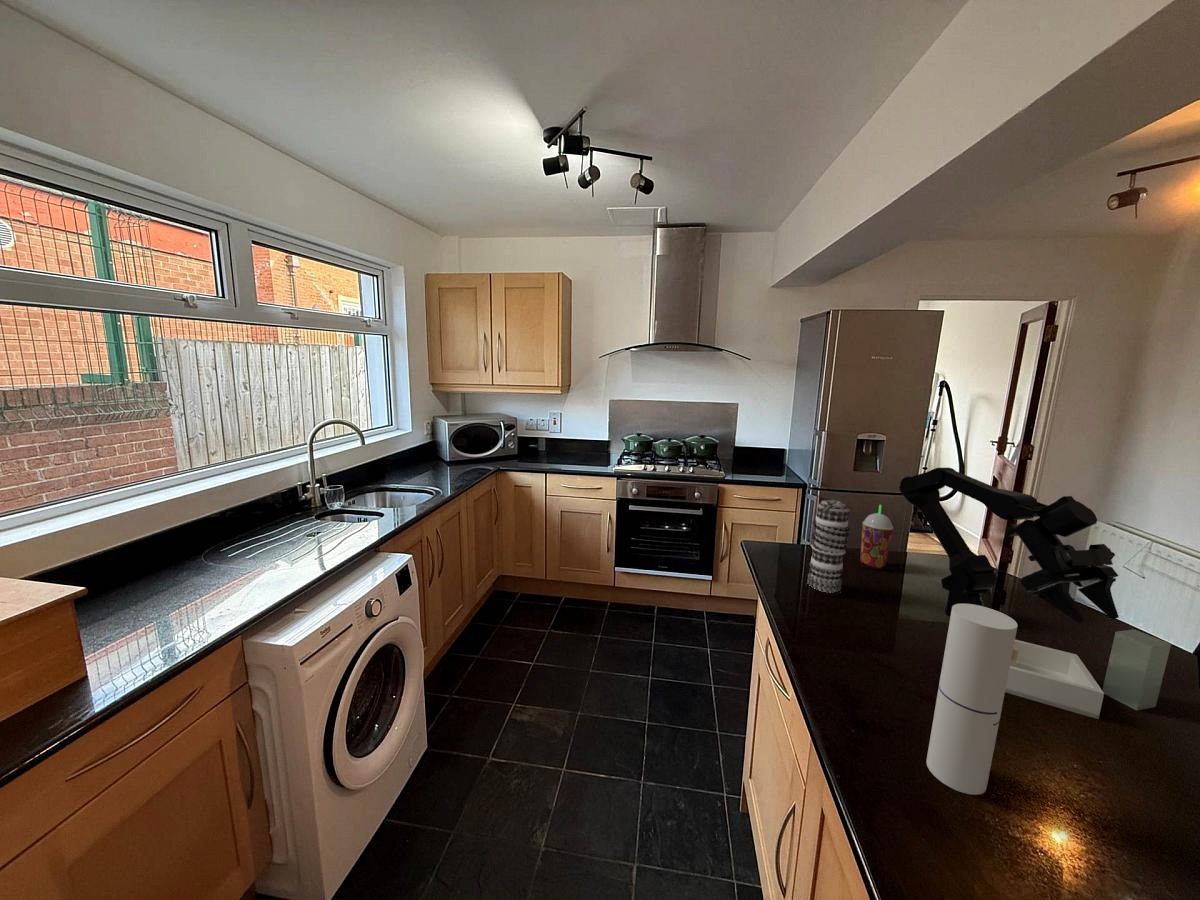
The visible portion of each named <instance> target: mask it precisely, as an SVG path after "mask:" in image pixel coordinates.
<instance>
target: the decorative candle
mask: <svg viewBox="0 0 1200 900" xmlns="http://www.w3.org/2000/svg"><path fill="white" fill-rule="evenodd" d="M816 507H817V512H816V515H815V519H814V520H813V521H812V525H813V527H812V530H811V532H812V534H811V538H812V540H811V549H812V555H811V557H810V558H811V559H810V562H809V563H808V564H809V568H808V572H809V573H808V574H807V580H806V582H807V584H809V586H811V587H812V588H814V589H816V590H819V591H821V592H826V593H828V592H829V593H834V592H838V591H840V592H841V589H842V584H843V580H842V578H843V576H844V575H843V572H844V567H843V566H844V562H843V561H844V560H843V559H844V555H845V554H846V552H847V551H846V549H847V548H848V547H847V546H846V544H848V540H847V539H846V538H848V537H849V536H850V534H849V533H848V532H850V530H851V529H850V527H849V519H848V518H849V513H850V511H851V509H850V508H849V507H848V506H847V504H846V503H844V501H840V500H836V499H823V500H822V501H820V502H819V503H817V504H816Z"/></svg>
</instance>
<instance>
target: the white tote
mask: <svg viewBox="0 0 1200 900" xmlns="http://www.w3.org/2000/svg"><path fill="white" fill-rule="evenodd" d="M1014 644H1015V646H1016V648H1017V650H1018V655H1017V660H1016V666H1015V667H1013V666H1010V668H1009V673H1008V679H1007V684H1006V689H1005V693H1006V694H1010V695H1014V696H1016V697H1020V698H1024V699H1027V700H1030V701H1033V702H1034V701H1035V702H1037V703H1040V704H1043V705H1044V704H1045V705H1048V706H1052V707H1055V708H1058V709H1061V710H1065V711H1068V712H1072V713H1074V714H1079V715H1081V716H1082V715H1083V716H1086V717H1089V718H1093V719H1097V720H1099V719H1100V713H1101V710H1102V705H1103V701H1104V695H1105V694H1104V692H1103V691H1102V690H1103V689H1101V687H1100V685H1099V684H1098V683H1097V681H1096V679H1094V676H1093V675H1092V674H1091V672H1090V671H1089V670H1088V668H1087V667H1086V666H1085V664H1084V662H1083V661H1082V660H1081V659H1080V657H1079V656H1078V654H1075V653H1072V652H1069V651H1068V652H1067V651H1064V650H1059V649H1055V648H1052V647H1048V646H1044V645H1043V646H1042V645H1039V644H1035V643H1031V642H1027V641H1022V640H1019V639H1015V642H1014Z"/></svg>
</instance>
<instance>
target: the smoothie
mask: <svg viewBox="0 0 1200 900" xmlns="http://www.w3.org/2000/svg"><path fill="white" fill-rule="evenodd" d="M893 532H894V526H893V524H892V521H891V518H889V517H888V516H887V515H885V514H883V513H882V504H879V505H878V512H874V513H871V514H868V515H867V517H866V518H865V519H864V520H863V521H862V526H861V541H860V542H861V543H860V546H861V547H860V559H859V561H860V562H861V564H862V563H864V564H866V565H868V566H872V567H876V568H882V567H883V568H884V567H886V563H887V559H888V554H889V549H890V544H891V540H892V537H893Z"/></svg>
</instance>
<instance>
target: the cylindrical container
mask: <svg viewBox="0 0 1200 900" xmlns="http://www.w3.org/2000/svg"><path fill="white" fill-rule="evenodd" d="M948 623H949V624H948V631H947V635H946V642H945V648H944V655H943V659H942V664H941V665H942V666H941V672H940V677H939V684H938V690H937V694H936V701H935V708H934V713H933V718H932V719H933V720H932V726H931V732H930V738H929V744H928V750H927V755H926V766H927V768H928V770H929V772H930V773H931V774H932V775H933V776H934V777H935V778H936V779H937V780H938V781H940V782H941V783H942V784H944V785H945V786H948V787H949V788H951V789H952V790H955V791H957V792H960V793H963V794H967V795H971V796H972V795H973V796H977V795H982V794H984V793H985V792H986V791H987V786H988V782H989V776H990V772H991V767H992V761H993V755H994V751H995V746H996V741H997V737H998V736H997V735H998V731H999V725H1000V720H1001V716H1002V715H1001V714H1002V710H1003V704H1004V698H1005V693H1006V692H1005V689H1006V684H1007V679H1008V673H1009V668H1010V663H1011V658H1012V652H1013V647H1014V642H1015V640H1016V636H1017V632H1018V623H1017V622H1016V620H1014V619H1013V618H1012V617H1010V616H1009V615H1007V614H1005V613H1002V612H1001V611H998V610H995V609H992V608H989V607H987V606H983V605H982V606H979V605H973V604H955V605H953V606H952V611H951V616H950V618H949V622H948Z"/></svg>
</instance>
